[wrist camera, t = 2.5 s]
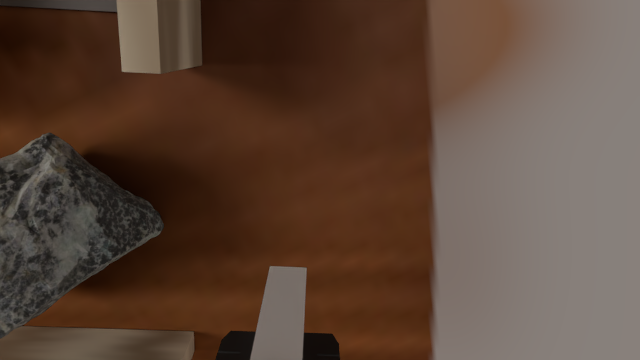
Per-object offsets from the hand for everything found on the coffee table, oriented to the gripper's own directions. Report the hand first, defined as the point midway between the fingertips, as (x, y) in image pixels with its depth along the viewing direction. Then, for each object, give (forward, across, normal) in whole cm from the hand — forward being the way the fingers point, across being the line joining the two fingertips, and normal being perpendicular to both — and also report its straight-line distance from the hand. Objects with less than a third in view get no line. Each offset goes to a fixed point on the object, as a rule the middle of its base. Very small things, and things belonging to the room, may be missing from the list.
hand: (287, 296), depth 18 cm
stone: (+9, -12, 0) cm, 15 cm away
